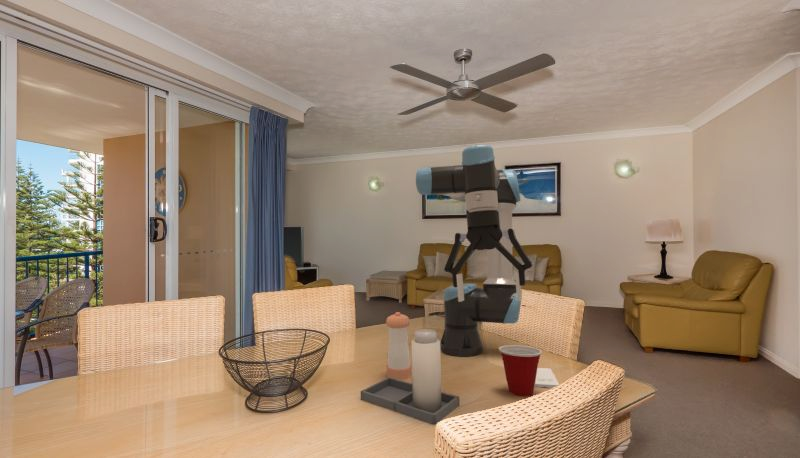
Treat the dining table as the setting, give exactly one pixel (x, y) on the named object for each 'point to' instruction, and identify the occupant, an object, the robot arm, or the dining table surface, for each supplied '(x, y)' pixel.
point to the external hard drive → (545, 378)
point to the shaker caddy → (406, 400)
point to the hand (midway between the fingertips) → (489, 300)
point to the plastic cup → (520, 368)
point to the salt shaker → (426, 371)
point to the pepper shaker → (398, 347)
